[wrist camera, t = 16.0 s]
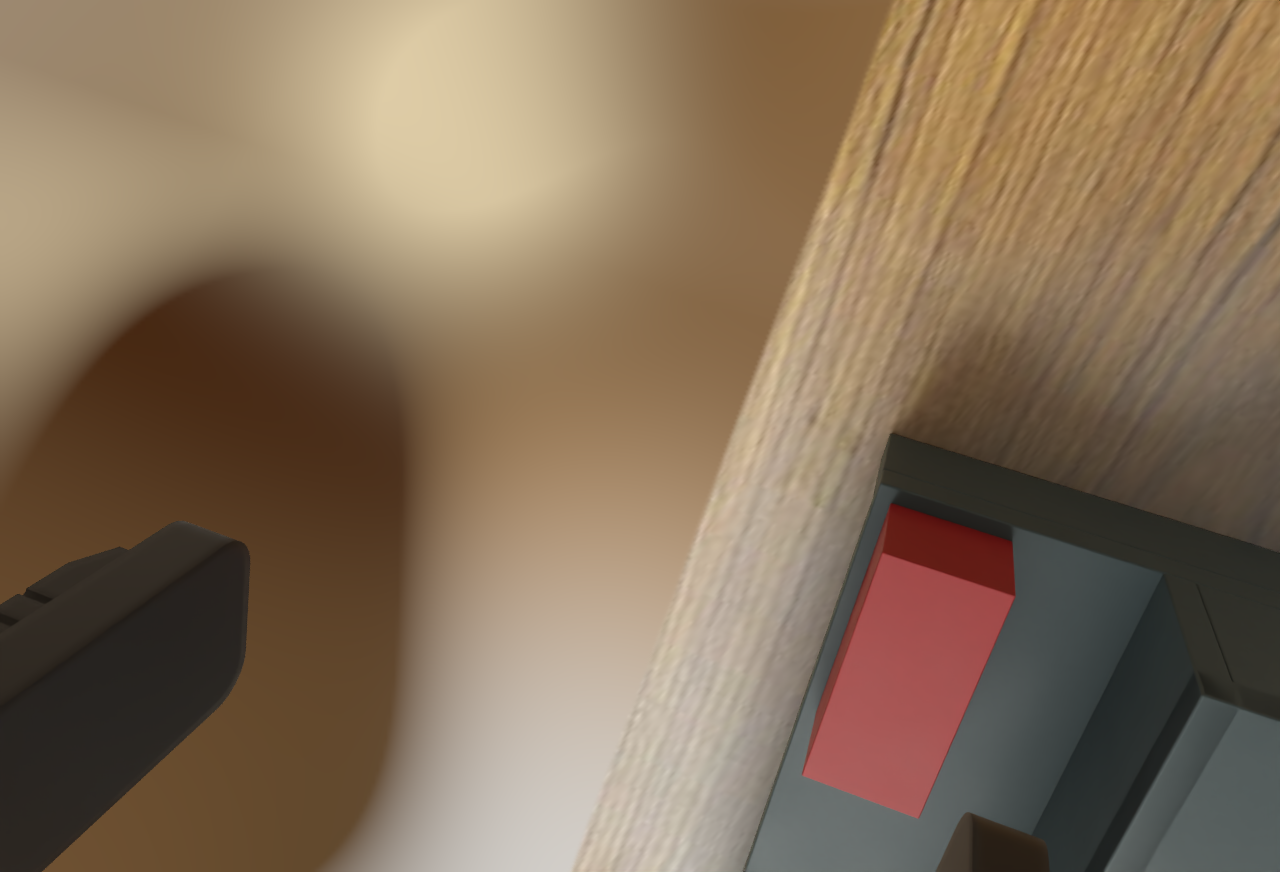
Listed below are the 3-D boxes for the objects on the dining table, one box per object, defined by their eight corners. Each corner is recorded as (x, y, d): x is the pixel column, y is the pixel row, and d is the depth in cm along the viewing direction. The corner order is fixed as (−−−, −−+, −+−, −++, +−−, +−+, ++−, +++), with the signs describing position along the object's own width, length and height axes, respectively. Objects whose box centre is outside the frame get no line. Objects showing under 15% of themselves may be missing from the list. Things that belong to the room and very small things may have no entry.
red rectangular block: (890, 502, 34) (882, 551, 31) (1012, 541, 34) (1016, 595, 31) (815, 713, 38) (801, 776, 35) (924, 752, 38) (918, 819, 34)
